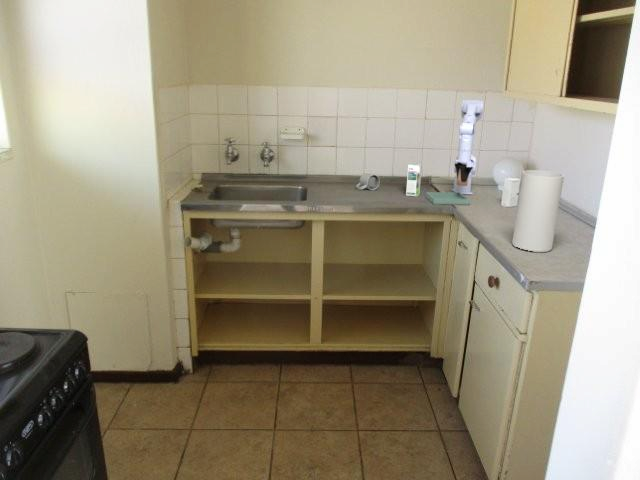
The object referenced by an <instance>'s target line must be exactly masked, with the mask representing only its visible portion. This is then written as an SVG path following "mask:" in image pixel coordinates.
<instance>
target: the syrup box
mask: <svg viewBox="0 0 640 480" xmlns="http://www.w3.org/2000/svg"><path fill="white" fill-rule="evenodd" d="M422 167H423V164H417V163H416V164H415V163H409V164H408V165H407V175H406V191H405V196H409V197H419V195H420V193H421V192H420V190H421V181H422V170H423V169H422Z"/></svg>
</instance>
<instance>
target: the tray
mask: <svg viewBox="0 0 640 480" xmlns="http://www.w3.org/2000/svg"><path fill="white" fill-rule="evenodd" d="M425 198H426V200H428V201H429V202H430V203H431V204H432V205H435V206H437V205H438V206H470V201H471V199H470V198H468V197H467V196H465V194H461V193H455V192H446V191H445V192H437V191H436V192H434V191H432V192H431V191H427V192H425Z"/></svg>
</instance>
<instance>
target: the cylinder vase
mask: <svg viewBox="0 0 640 480" xmlns="http://www.w3.org/2000/svg"><path fill="white" fill-rule="evenodd" d="M521 173H522V174H521V178H520V187H519V195H518V202H517V206H516V215H515V221H514V229H513V235H512V242H511V243H512V245H513V246H514V247H515V248H516V247H518V248H520V249H519V250H521V249H524V250H528V251H527V252H529V251H533V252H532V253H547V252H550V251H551V250H552V248H553V244H554V237H555V231H556V227H557V226H556V225H557V220H558V215H559V208H560V203H561V197H562V192H563V191H562V190H563V185H564V184H563V183H564V180H565V175H564V174H563V173H560V172H556V171H551V170H550V171H548V170H541V169H540V170H536V169H528V170H523V171H522V172H521ZM518 248H517V249H518ZM524 250H523V251H524Z"/></svg>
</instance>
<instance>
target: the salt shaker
mask: <svg viewBox="0 0 640 480" xmlns="http://www.w3.org/2000/svg"><path fill="white" fill-rule="evenodd" d="M468 178H469V176H468ZM468 178H467V181H466V182H461V171H460V170H459V174H458V180H457V185H461V186H467V184H468Z"/></svg>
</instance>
